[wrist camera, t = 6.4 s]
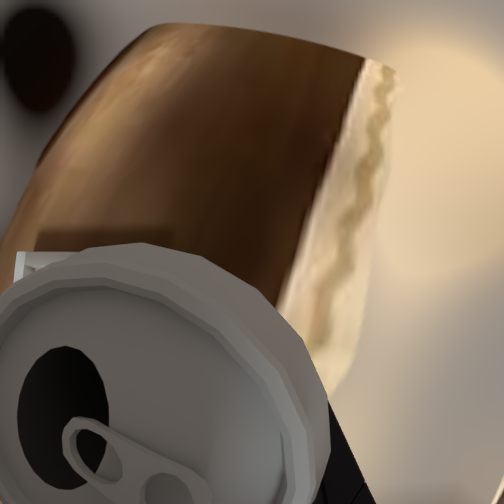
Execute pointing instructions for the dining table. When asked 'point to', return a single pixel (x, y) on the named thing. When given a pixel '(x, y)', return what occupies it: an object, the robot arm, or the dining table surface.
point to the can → (154, 386)
